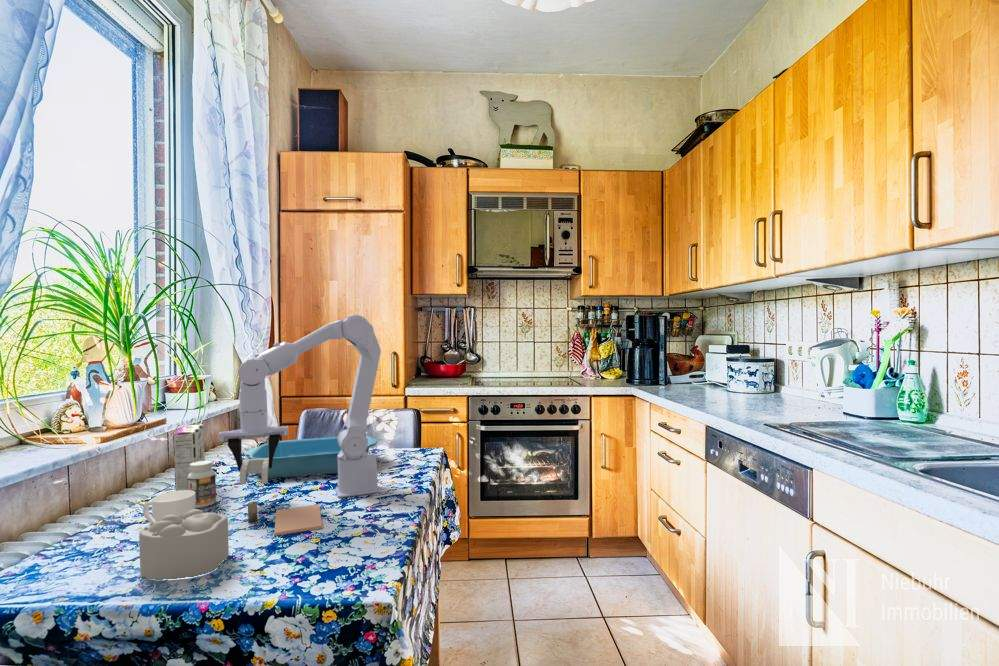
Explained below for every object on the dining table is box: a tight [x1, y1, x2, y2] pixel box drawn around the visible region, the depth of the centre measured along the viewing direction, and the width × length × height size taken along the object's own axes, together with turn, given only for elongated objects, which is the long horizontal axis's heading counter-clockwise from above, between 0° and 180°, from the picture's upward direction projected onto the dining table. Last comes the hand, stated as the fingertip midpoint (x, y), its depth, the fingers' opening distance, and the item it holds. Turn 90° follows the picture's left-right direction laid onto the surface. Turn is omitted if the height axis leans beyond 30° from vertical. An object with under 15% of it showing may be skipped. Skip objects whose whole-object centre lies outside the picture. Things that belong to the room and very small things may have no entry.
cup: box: [142, 490, 196, 524], centre depth 107 cm, size 8×10×7 cm
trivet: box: [273, 503, 323, 537], centre depth 110 cm, size 9×14×1 cm, turn 22°
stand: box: [247, 501, 259, 524], centre depth 109 cm, size 2×2×4 cm
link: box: [239, 458, 269, 486], centre depth 119 cm, size 6×10×3 cm, turn 22°
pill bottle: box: [187, 460, 217, 509], centre depth 121 cm, size 6×6×10 cm
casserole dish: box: [244, 435, 378, 479], centre depth 152 cm, size 37×22×7 cm, turn 102°
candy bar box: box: [172, 423, 206, 491], centre depth 131 cm, size 11×5×16 cm, turn 20°
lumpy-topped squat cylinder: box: [138, 508, 230, 580], centre depth 89 cm, size 10×13×9 cm
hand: (255, 468), depth 119 cm, fingers closed on link, 6 cm apart
